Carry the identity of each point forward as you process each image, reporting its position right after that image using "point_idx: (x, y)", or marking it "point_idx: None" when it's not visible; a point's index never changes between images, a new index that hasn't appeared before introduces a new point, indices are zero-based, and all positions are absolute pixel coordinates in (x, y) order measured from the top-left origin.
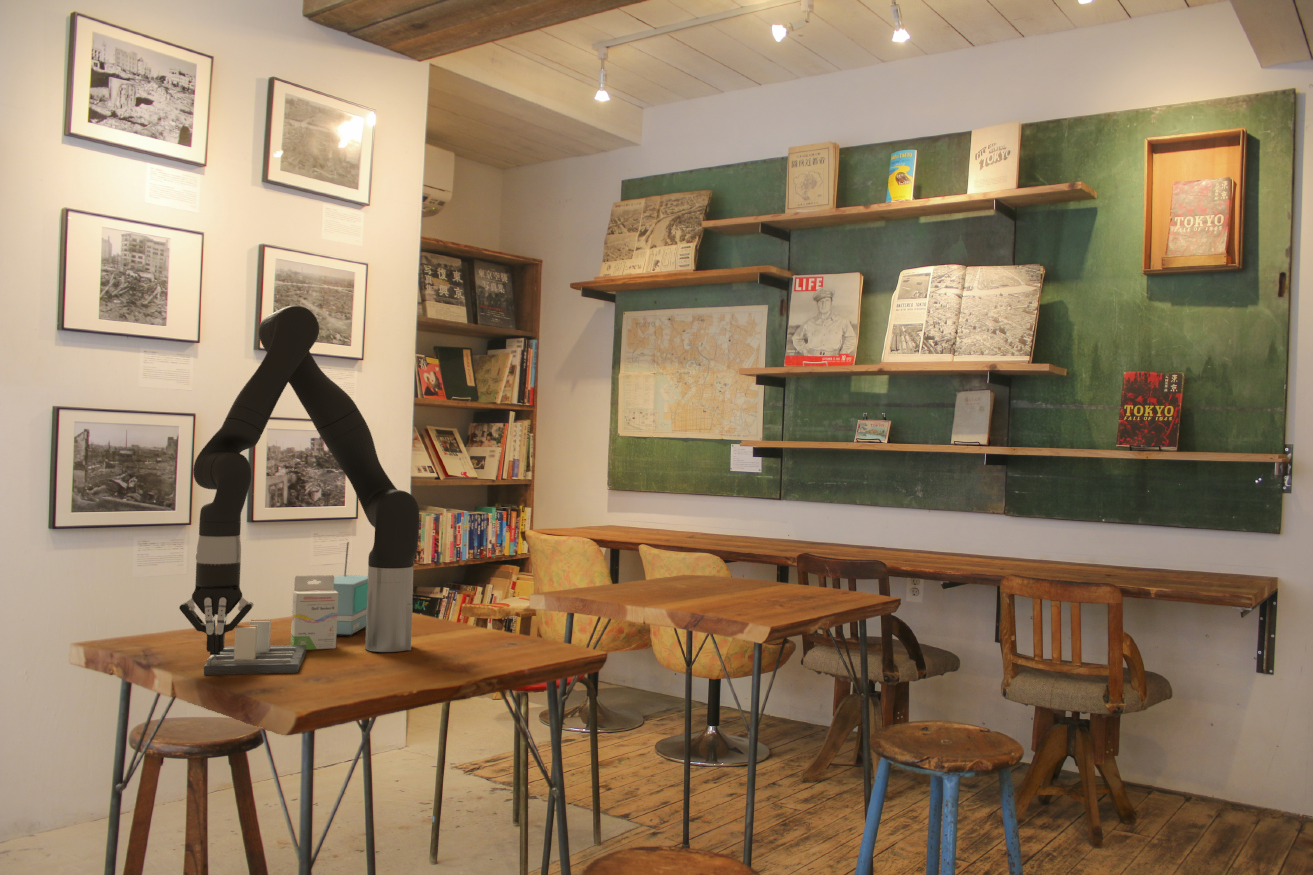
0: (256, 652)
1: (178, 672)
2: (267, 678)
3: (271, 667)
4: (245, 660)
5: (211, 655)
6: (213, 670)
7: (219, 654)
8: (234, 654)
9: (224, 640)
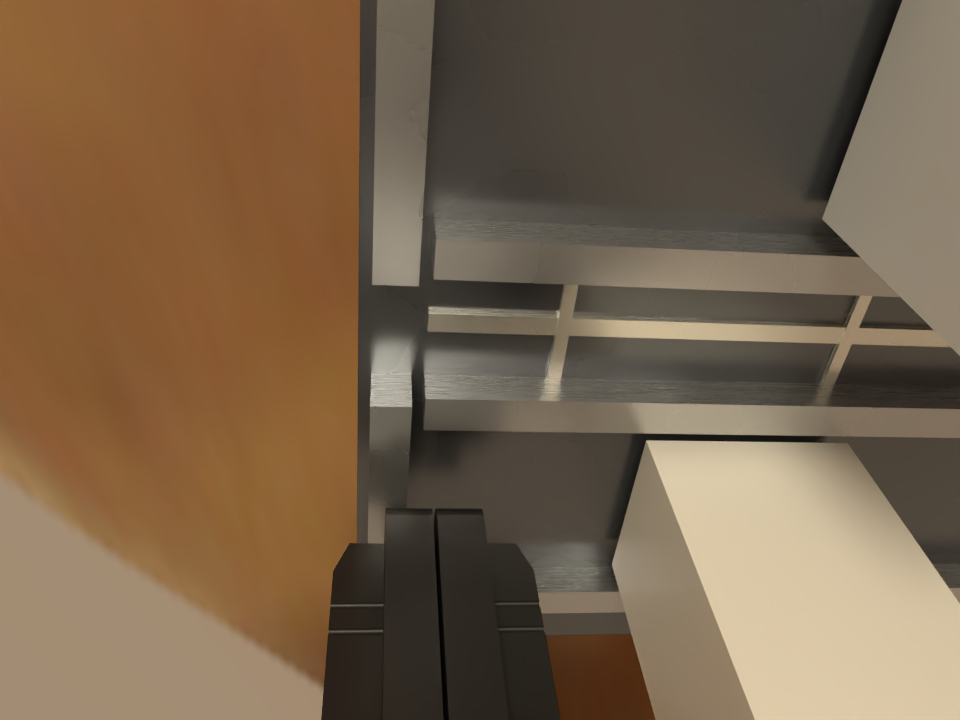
0: (872, 483)
1: (108, 478)
2: None
3: None
4: None
5: (378, 455)
6: None
7: (452, 271)
8: (630, 616)
9: (547, 650)
